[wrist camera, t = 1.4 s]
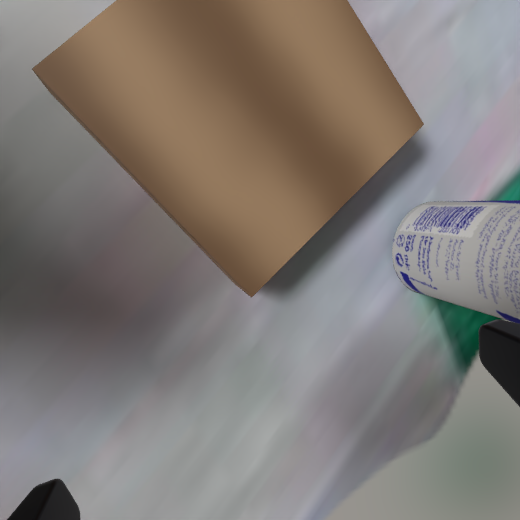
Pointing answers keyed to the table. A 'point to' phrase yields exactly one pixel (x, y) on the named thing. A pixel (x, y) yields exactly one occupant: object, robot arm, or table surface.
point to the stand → (236, 116)
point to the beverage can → (463, 254)
